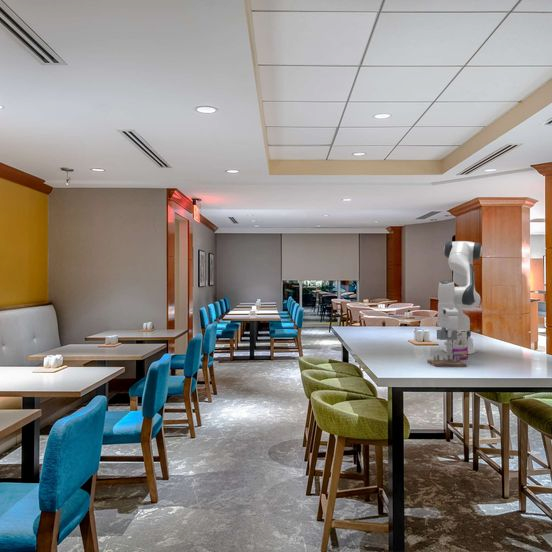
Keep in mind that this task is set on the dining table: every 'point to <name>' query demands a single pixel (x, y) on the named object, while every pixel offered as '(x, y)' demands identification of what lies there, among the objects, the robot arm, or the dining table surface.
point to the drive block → (443, 334)
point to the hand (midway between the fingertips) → (446, 336)
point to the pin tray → (447, 362)
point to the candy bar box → (458, 346)
